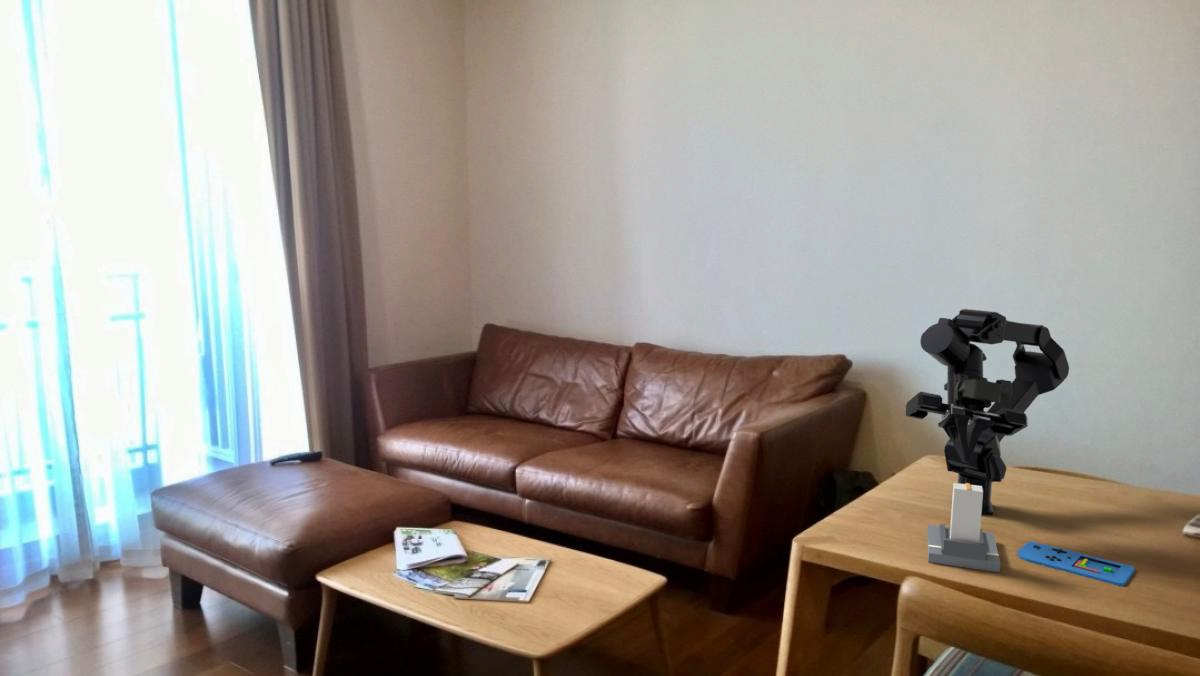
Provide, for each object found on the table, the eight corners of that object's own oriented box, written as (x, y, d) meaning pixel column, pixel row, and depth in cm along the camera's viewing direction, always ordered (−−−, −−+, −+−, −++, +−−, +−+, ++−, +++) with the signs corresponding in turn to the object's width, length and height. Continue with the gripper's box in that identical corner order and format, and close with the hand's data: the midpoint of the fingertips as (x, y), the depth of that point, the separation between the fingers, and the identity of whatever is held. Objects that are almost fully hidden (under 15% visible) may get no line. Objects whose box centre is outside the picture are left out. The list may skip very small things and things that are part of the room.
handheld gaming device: (1029, 538, 136) (1136, 565, 126) (1029, 545, 136) (1135, 572, 126) (1013, 553, 130) (1124, 582, 120) (1012, 559, 130) (1123, 589, 120)
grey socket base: (927, 533, 140) (928, 510, 140) (992, 541, 137) (994, 518, 136) (928, 562, 128) (929, 538, 128) (999, 572, 125) (1001, 547, 124)
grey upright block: (949, 544, 131) (953, 481, 129) (976, 547, 129) (981, 484, 128) (949, 551, 128) (954, 487, 127) (978, 555, 127) (983, 490, 125)
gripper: (932, 347, 138) (932, 436, 131) (1043, 369, 138) (1048, 459, 131) (905, 372, 148) (903, 456, 141) (1008, 392, 148) (1011, 477, 141)
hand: (966, 461), depth 138 cm, fingers closed
